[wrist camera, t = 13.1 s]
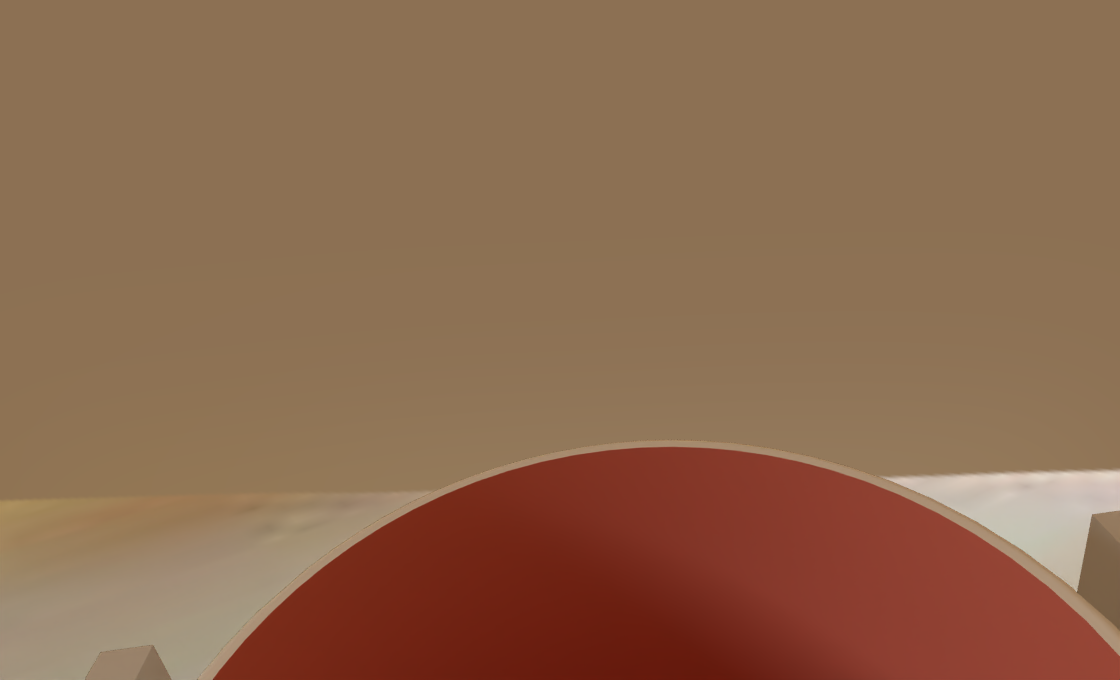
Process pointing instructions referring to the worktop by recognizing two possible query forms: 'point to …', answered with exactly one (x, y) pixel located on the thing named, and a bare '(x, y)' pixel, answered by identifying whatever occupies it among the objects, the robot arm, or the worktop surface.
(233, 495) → the worktop surface
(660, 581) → the cup
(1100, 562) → the robot arm
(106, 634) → the worktop surface
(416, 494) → the worktop surface
